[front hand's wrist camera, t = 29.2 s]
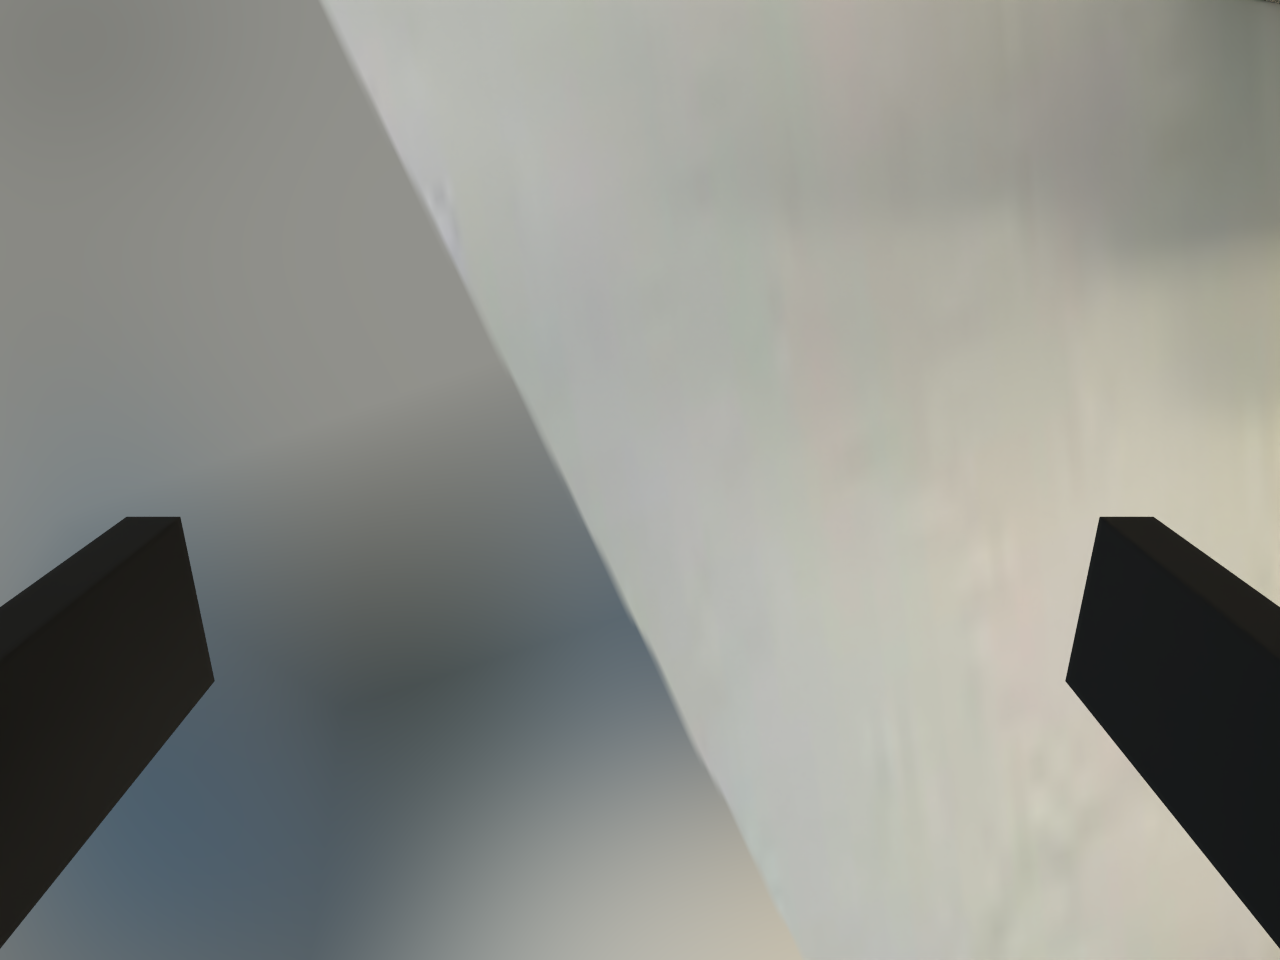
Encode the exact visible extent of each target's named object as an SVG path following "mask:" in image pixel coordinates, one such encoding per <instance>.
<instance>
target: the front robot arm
mask: <svg viewBox="0 0 1280 960" xmlns="http://www.w3.org/2000/svg"><path fill="white" fill-rule="evenodd" d="M1266 1H1270V2H1275V3H1280V0H1266ZM213 682H214V676H213V671H212V667H211V662H210V657H209V652H208V647H207V643H206V638H205V633H204V628H203V624H202V619H201V614H200V609H199V604H198V600H197V595H196V590H195V585H194V581H193V576H192V571H191V566H190V561H189V556H188V552H187V547H186V542H185V537H184V533H183V528H182V523H181V518H180V517H126V518H124V519H123V520H122V521H120V522H119V523H117V524H116V525H115V526H113V527H112V528H110V529H109V530H108V531H106V532H105V533H103V534H102V535H101V536H99V537H98V538H96V539H95V540H94V541H92V542H91V543H89V544H88V545H87V546H85V547H84V548H82V549H81V550H80V551H78V552H77V553H75V554H74V555H73V556H71V557H70V558H68V559H67V560H66V561H64V562H63V563H61V564H60V565H59V566H57V567H56V568H54V569H53V570H52V571H50V572H49V573H47V574H46V575H45V576H43V577H42V578H40V579H39V580H38V581H36V582H35V583H33V584H32V585H31V586H29V587H28V588H26V589H25V590H24V591H22V592H21V593H19V594H18V595H17V596H15V597H14V598H13V599H11V600H10V601H8V602H7V603H5V604H4V605H3V606H1V607H0V948H1V947H2V946H3V944H4V943H5V942H6V941H7V939H8V938H9V937H10V936H11V934H12V933H13V932H14V931H15V929H16V928H17V927H18V926H19V924H20V923H21V922H22V921H23V919H24V918H25V917H26V916H27V914H28V913H29V912H30V911H31V909H32V908H33V907H34V906H35V904H36V903H37V902H38V901H39V899H40V898H41V897H42V896H43V894H44V893H45V892H46V891H47V890H48V888H49V887H50V886H51V885H52V883H53V882H54V881H55V879H56V878H57V877H58V876H59V875H60V873H61V872H62V871H63V870H64V868H65V867H66V866H67V865H68V863H69V862H70V861H71V860H72V858H73V857H74V856H75V855H76V853H77V852H78V851H79V849H80V848H81V847H82V846H83V845H84V843H85V842H86V841H87V840H88V838H89V837H90V836H91V835H92V833H93V832H94V831H95V830H96V828H97V827H98V826H99V825H100V823H101V822H102V821H103V820H104V818H105V817H106V816H107V815H108V813H109V812H110V811H111V810H112V808H113V807H114V806H115V805H116V803H117V802H118V801H119V800H120V798H121V797H122V796H123V795H124V793H125V792H126V791H127V790H128V788H129V787H130V786H131V785H132V783H133V782H134V781H135V780H136V778H137V777H138V776H139V775H140V773H141V772H142V771H143V770H144V768H145V767H146V766H147V765H148V763H149V762H150V761H151V760H152V758H153V757H154V756H155V755H156V753H157V752H158V751H159V750H160V748H161V747H162V746H163V745H164V743H165V742H166V741H167V740H168V738H169V737H170V736H171V735H172V733H173V732H174V731H175V730H176V728H177V727H178V726H179V725H180V723H181V722H182V721H183V720H184V718H185V717H186V716H187V715H188V713H189V712H190V711H191V710H192V708H193V707H194V706H195V705H196V703H197V702H198V701H199V700H200V698H201V697H202V696H203V695H204V693H205V692H206V691H207V690H208V689H209V687H210V686H211V685H212V683H213ZM1066 682H1067V684H1068V685H1069V686H1070V687H1071V689H1072V690H1073V691H1074V692H1075V693H1076V695H1077V696H1078V697H1079V698H1080V700H1081V701H1082V702H1083V703H1084V705H1085V706H1086V707H1087V708H1088V710H1089V711H1090V712H1091V713H1092V715H1093V716H1094V717H1095V718H1096V720H1097V721H1098V722H1099V723H1100V725H1101V726H1102V727H1103V728H1104V730H1105V731H1106V732H1107V733H1108V735H1109V736H1110V737H1111V738H1112V740H1113V741H1114V742H1115V743H1116V745H1117V746H1118V747H1119V748H1120V750H1121V751H1122V752H1123V753H1124V755H1125V756H1126V757H1127V758H1128V760H1129V761H1130V762H1131V763H1132V765H1133V766H1134V767H1135V768H1136V770H1137V771H1138V772H1139V773H1140V775H1141V776H1142V777H1143V778H1144V780H1145V781H1146V782H1147V783H1148V785H1149V786H1150V787H1151V788H1152V790H1153V791H1154V792H1155V793H1156V795H1157V796H1158V797H1159V798H1160V800H1161V801H1162V802H1163V803H1164V805H1165V806H1166V807H1167V808H1168V810H1169V811H1170V812H1171V813H1172V815H1173V816H1174V817H1175V818H1176V820H1177V821H1178V822H1179V823H1180V825H1181V826H1182V827H1183V828H1184V830H1185V831H1186V832H1187V833H1188V835H1189V836H1190V837H1191V838H1192V840H1193V841H1194V842H1195V843H1196V845H1197V846H1198V847H1199V848H1200V850H1201V851H1202V852H1203V853H1204V855H1205V856H1206V857H1207V858H1208V860H1209V861H1210V862H1211V863H1212V865H1213V866H1214V867H1215V868H1216V870H1217V871H1218V872H1219V873H1220V875H1221V876H1222V877H1223V878H1224V880H1225V881H1226V882H1227V883H1228V885H1229V886H1230V887H1231V888H1232V890H1233V891H1234V892H1235V893H1236V894H1237V896H1238V897H1239V898H1240V899H1241V901H1242V902H1243V903H1244V904H1245V906H1246V907H1247V908H1248V909H1249V911H1250V912H1251V913H1252V914H1253V916H1254V917H1255V918H1256V919H1257V921H1258V922H1259V923H1260V924H1261V926H1262V927H1263V928H1264V929H1265V931H1266V932H1267V933H1268V934H1269V936H1270V937H1271V938H1272V939H1273V941H1274V942H1275V943H1276V944H1277V946H1278V947H1279V948H1280V607H1279V606H1277V605H1276V604H1275V603H1273V602H1272V601H1270V600H1269V599H1268V598H1266V597H1265V596H1263V595H1262V594H1261V593H1259V592H1258V591H1256V590H1255V589H1254V588H1252V587H1251V586H1249V585H1248V584H1247V583H1245V582H1244V581H1242V580H1241V579H1240V578H1238V577H1237V576H1235V575H1234V574H1233V573H1231V572H1230V571H1228V570H1227V569H1226V568H1224V567H1223V566H1221V565H1220V564H1219V563H1217V562H1216V561H1214V560H1213V559H1212V558H1210V557H1209V556H1207V555H1206V554H1205V553H1203V552H1202V551H1200V550H1199V549H1198V548H1196V547H1195V546H1193V545H1192V544H1191V543H1189V542H1188V541H1186V540H1185V539H1184V538H1182V537H1181V536H1179V535H1178V534H1177V533H1175V532H1174V531H1172V530H1171V529H1170V528H1168V527H1167V526H1165V525H1164V524H1163V523H1161V522H1160V521H1158V520H1157V519H1156V518H1154V517H1100V518H1099V523H1098V528H1097V532H1096V537H1095V542H1094V547H1093V552H1092V556H1091V561H1090V566H1089V571H1088V576H1087V580H1086V585H1085V590H1084V595H1083V600H1082V604H1081V609H1080V614H1079V619H1078V623H1077V628H1076V633H1075V638H1074V643H1073V647H1072V652H1071V657H1070V662H1069V667H1068V671H1067V676H1066Z"/></svg>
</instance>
